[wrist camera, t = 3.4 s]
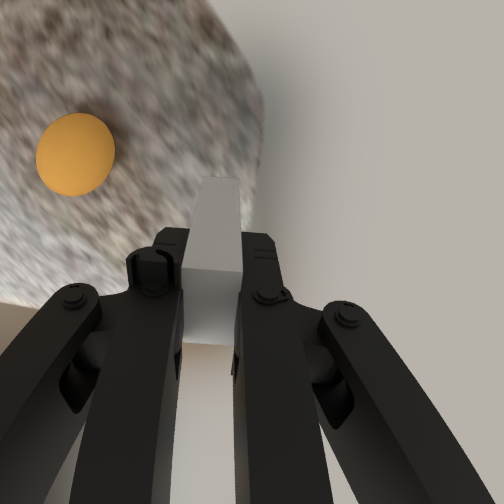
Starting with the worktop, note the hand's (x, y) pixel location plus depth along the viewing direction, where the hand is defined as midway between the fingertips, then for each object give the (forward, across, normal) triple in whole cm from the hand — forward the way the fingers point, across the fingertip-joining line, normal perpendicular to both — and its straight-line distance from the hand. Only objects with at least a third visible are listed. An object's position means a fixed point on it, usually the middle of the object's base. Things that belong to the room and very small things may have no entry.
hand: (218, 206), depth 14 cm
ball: (+6, -10, 0) cm, 12 cm away
